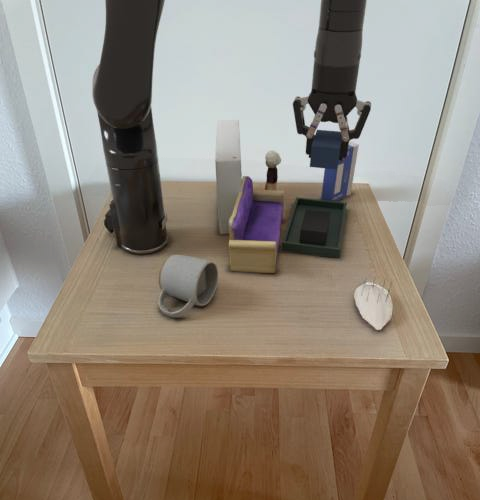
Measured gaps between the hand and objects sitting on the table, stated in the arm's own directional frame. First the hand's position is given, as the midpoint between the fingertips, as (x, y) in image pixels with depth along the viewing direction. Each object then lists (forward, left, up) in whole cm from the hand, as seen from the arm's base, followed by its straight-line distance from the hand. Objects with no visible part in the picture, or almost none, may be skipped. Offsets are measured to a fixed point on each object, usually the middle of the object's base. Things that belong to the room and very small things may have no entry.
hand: (325, 157), depth 93 cm
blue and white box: (+3, +15, -16) cm, 22 cm away
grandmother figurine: (-11, +7, -16) cm, 21 cm away
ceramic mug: (-19, -29, -16) cm, 38 cm away
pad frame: (0, -1, -15) cm, 15 cm away
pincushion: (+12, -24, -16) cm, 31 cm away
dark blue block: (0, 0, 0) cm, 0 cm away
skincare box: (-20, +4, -16) cm, 25 cm away
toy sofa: (-11, -9, -16) cm, 21 cm away
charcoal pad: (0, -5, -15) cm, 16 cm away
